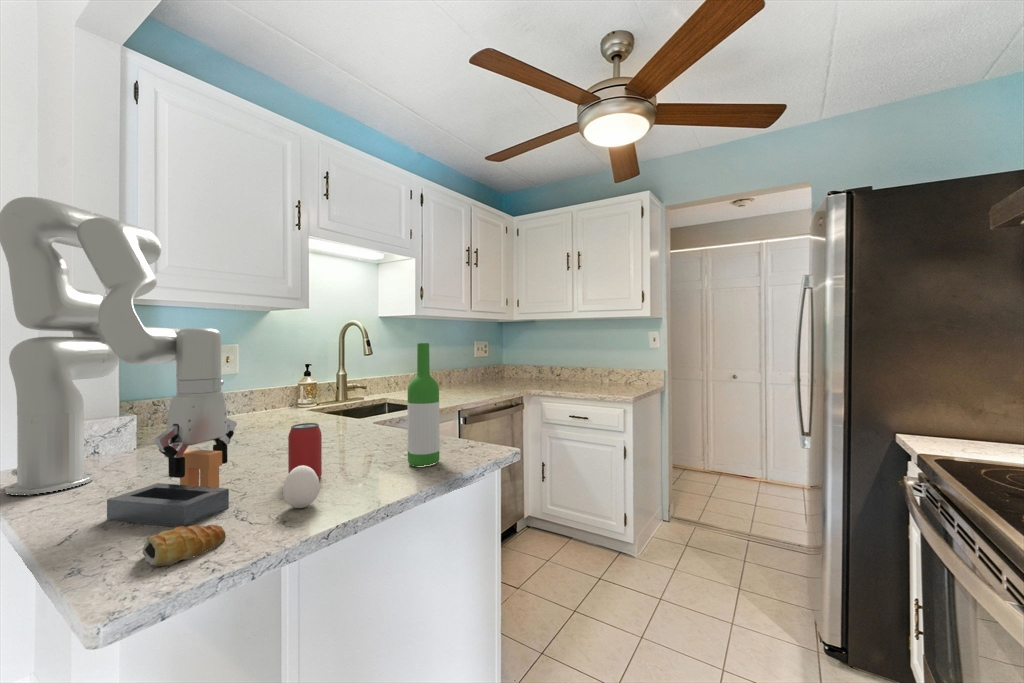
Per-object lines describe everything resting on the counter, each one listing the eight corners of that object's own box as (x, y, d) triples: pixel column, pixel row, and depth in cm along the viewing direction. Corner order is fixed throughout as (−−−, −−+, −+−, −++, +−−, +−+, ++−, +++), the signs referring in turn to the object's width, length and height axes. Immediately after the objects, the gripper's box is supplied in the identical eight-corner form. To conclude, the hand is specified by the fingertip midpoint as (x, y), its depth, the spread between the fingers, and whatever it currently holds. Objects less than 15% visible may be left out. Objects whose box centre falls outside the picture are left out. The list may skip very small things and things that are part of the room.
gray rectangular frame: (106, 519, 72) (106, 499, 72) (157, 501, 80) (157, 483, 80) (184, 527, 69) (184, 506, 69) (228, 507, 77) (228, 488, 77)
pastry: (214, 534, 67) (214, 510, 67) (234, 545, 63) (234, 520, 63) (138, 559, 59) (138, 532, 59) (156, 574, 56) (156, 545, 56)
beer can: (308, 485, 89) (308, 428, 89) (281, 483, 90) (281, 427, 90) (327, 475, 96) (327, 422, 96) (302, 474, 97) (302, 421, 97)
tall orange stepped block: (176, 489, 87) (176, 452, 87) (190, 484, 90) (190, 449, 90) (209, 491, 85) (209, 454, 85) (222, 486, 88) (222, 451, 88)
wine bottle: (433, 458, 110) (433, 343, 110) (444, 465, 103) (443, 343, 103) (403, 462, 106) (403, 343, 106) (412, 470, 99) (412, 343, 99)
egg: (324, 507, 77) (324, 466, 77) (287, 517, 73) (287, 473, 73) (314, 498, 82) (313, 459, 82) (279, 506, 78) (279, 465, 78)
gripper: (220, 383, 97) (220, 457, 97) (140, 392, 80) (141, 482, 80) (248, 383, 95) (248, 459, 95) (173, 392, 79) (173, 484, 78)
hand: (199, 469), depth 88 cm, fingers open, 9 cm apart
